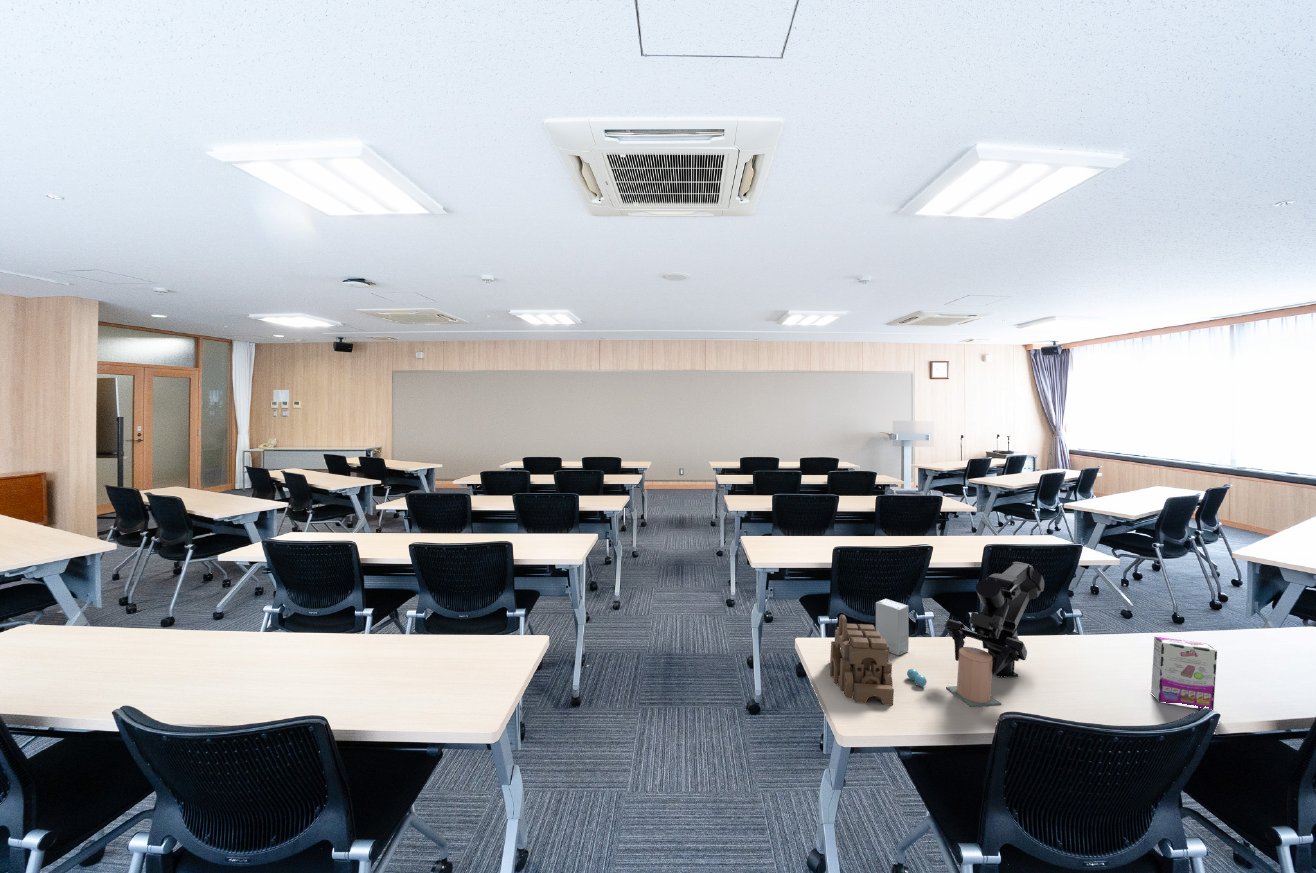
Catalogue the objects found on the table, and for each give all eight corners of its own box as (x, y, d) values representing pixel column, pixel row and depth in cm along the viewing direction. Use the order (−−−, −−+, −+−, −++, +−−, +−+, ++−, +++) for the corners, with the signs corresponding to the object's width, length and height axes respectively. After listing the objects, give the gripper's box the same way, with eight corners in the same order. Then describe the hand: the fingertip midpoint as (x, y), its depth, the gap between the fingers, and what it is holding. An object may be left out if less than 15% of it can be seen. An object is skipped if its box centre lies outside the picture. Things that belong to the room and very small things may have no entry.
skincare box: (908, 652, 165) (911, 605, 164) (897, 656, 162) (899, 609, 161) (884, 641, 172) (886, 597, 171) (873, 645, 168) (875, 600, 168)
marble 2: (921, 682, 146) (922, 672, 146) (928, 688, 143) (929, 677, 143) (911, 683, 146) (912, 672, 146) (918, 689, 143) (919, 678, 143)
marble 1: (914, 676, 150) (914, 666, 149) (920, 682, 147) (921, 671, 146) (904, 677, 149) (905, 666, 149) (911, 682, 146) (911, 672, 146)
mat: (975, 686, 145) (975, 684, 145) (1001, 704, 136) (1001, 703, 136) (946, 688, 144) (946, 686, 144) (970, 706, 135) (970, 705, 135)
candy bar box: (1202, 702, 139) (1207, 642, 138) (1213, 712, 135) (1219, 650, 134) (1148, 693, 144) (1153, 635, 143) (1158, 702, 139) (1163, 642, 138)
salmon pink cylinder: (965, 684, 145) (967, 644, 145) (995, 697, 139) (997, 655, 138) (951, 692, 141) (953, 651, 140) (981, 705, 135) (984, 662, 134)
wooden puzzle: (901, 706, 135) (905, 635, 134) (843, 702, 136) (846, 632, 135) (872, 664, 157) (875, 603, 156) (822, 661, 158) (825, 600, 156)
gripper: (949, 591, 149) (930, 639, 143) (1026, 611, 135) (1009, 666, 128) (958, 611, 155) (941, 658, 148) (1034, 633, 140) (1017, 686, 134)
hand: (974, 666), depth 140 cm, fingers open, 9 cm apart
